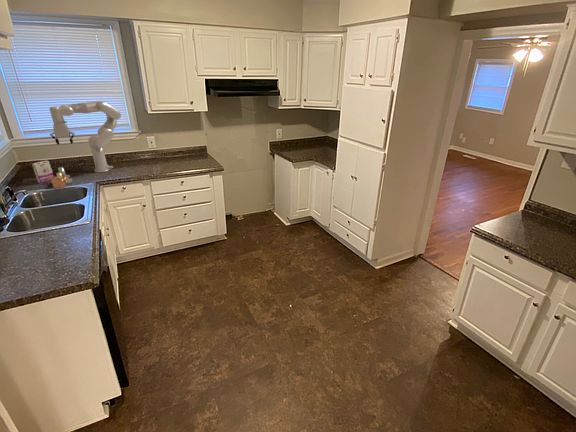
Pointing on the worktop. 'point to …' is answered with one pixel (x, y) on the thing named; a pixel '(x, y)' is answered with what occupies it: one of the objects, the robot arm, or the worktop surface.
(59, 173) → the locking pin
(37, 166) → the candy bar box
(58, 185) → the rosette post
